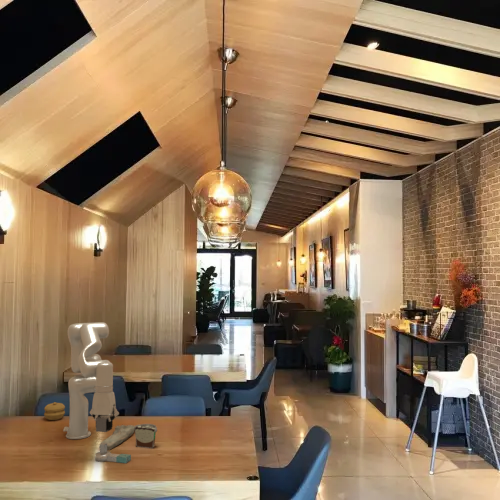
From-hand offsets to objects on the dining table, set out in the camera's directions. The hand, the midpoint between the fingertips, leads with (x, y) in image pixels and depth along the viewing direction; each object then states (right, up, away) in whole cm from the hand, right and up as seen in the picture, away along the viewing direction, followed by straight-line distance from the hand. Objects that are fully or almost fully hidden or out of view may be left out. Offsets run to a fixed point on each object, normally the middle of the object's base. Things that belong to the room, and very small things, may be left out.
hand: (104, 428), depth 235 cm
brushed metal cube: (0, -1, 0) cm, 1 cm away
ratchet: (+5, -14, -2) cm, 15 cm away
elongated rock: (-1, -16, +29) cm, 33 cm away
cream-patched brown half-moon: (+16, -15, +19) cm, 29 cm away
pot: (-49, -19, +68) cm, 86 cm away
